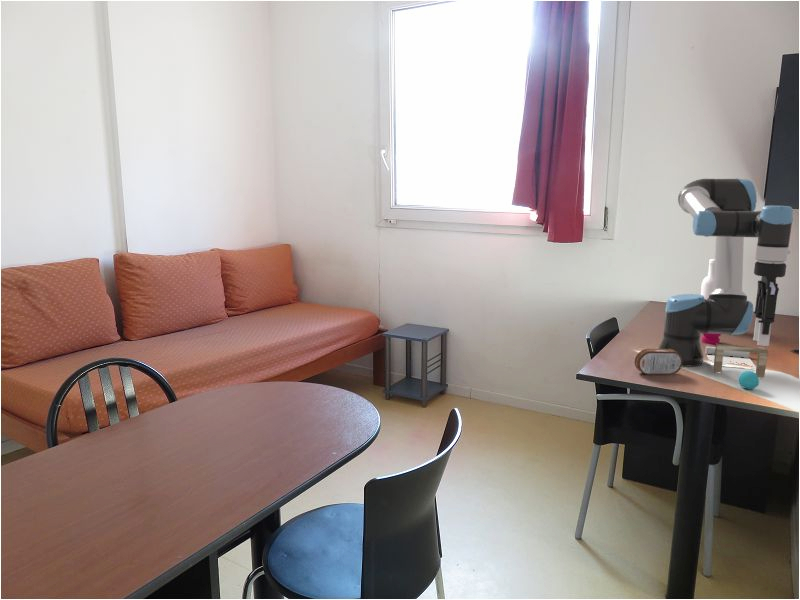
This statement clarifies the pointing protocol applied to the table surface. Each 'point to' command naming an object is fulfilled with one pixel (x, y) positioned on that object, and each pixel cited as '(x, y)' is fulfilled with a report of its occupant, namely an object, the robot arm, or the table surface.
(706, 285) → the bottle
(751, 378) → the ball
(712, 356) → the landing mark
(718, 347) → the bridge
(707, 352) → the stopper wall
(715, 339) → the pepper mill
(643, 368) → the tin
